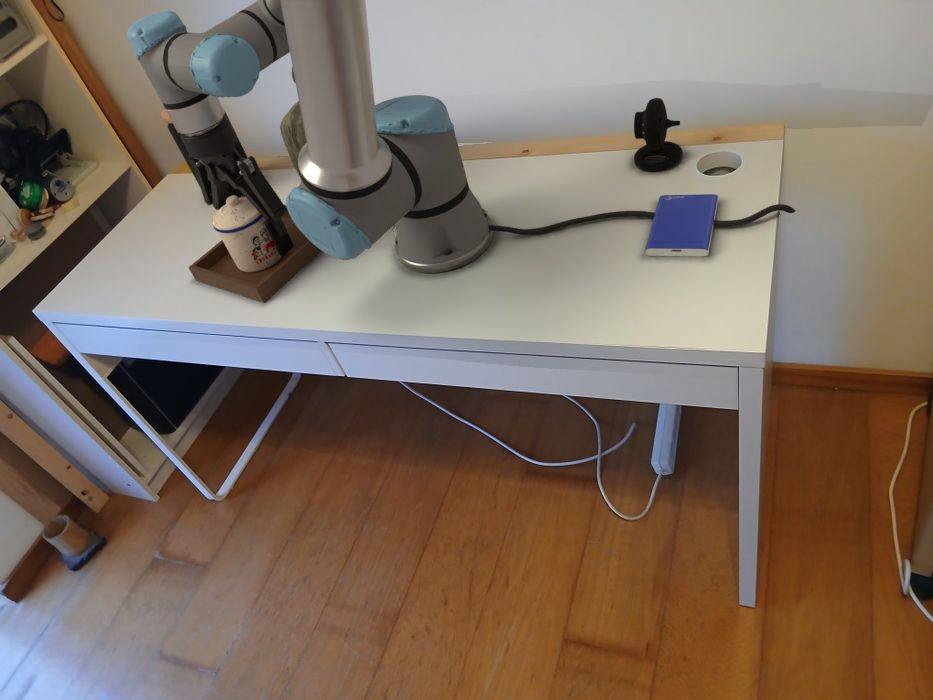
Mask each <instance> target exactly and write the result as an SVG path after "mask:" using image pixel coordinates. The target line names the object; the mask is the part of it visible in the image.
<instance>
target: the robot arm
mask: <svg viewBox="0 0 933 700" xmlns="http://www.w3.org/2000/svg"><path fill="white" fill-rule="evenodd" d="M126 35H127V39H128V42H129V43H130V46H131V47H132V50H133V51H134V53H135V59H136V60H137V61H138V62H139V64H140V65H141V68H142V69H143V71H144V73H145V75H146V76H147V78H148V80H149V82H150V83H151V86H152V87H153V89H154V91H155V92H156V94H157V96H158V97H159V98H158V99H159V100H160V102H161V103H162V105H163V107H164V108H165V110H166V112H167V114H168V115H169V117H170V119H171V121H172V123H173V125H174V126H175V128H176V130H177V132H179V133H181V139H182V141H183V143H184V145H185V146H186V148H187V150H188V152H189V154H190V155H188V159H189V161H190V162H191V164H192V166H193V168H194V170H195V173H196V176H197V179H198V182H199V184H198V186H199V185H200V186H199V188H200V191H201V194H202V197H203V200H204V202H205V204H206V205H208V206H211V205H212V206H213V208H214V209H215V210H216V211H218V210H219V209H220V208H221V207H223V206H224V205H226V204H227V203H226V199H227V198H228V197H230V196H229V191H228V182H229V183H230V184H231V185H232V186H233V188H235V189H239V190H240V191H241V192H242V193H243V195H242V196H243V197H246V198H247V199H248V200H249V201H250V202H251V204H252V205H253V206H254V207H255V208H256V209H257V210H258V212H259V213H260V214H261V215H262V216H263V217H264V218H265V219H266V220H265V221H264V222H263V224H264V225H265V227H266V229H267V230H268V232H269V234H270V236H271V238H272V240H273V242H274V244H275V246H276V248H277V250H278V252H279V254H280V255H281V256H284V255H285V254H286V253H287V252H288V251H289V250H291V249H292V248H293V247H294V245H293V243H292V240H291V238H290V236H289V234H288V232H287V229H286V227H285V225H284V223H283V221H282V219H281V216H283V215H284V214H285V213H286V212H287V209H288V212H289V214H290V216H291V218H292V220H293V221H294V223H295V224H296V226H297V227H298V228H299V230H300V231H301V232H302V233H303V234H304V235H305V236H306V237H307V238H308V239H309V240H310V241H311V242H312V243H313V244H314V245H315V246H316V247H318V248H319V249H320V250H322V251H321V252H323V253H324V254H326V255H328V256H330V257H331V258H335V259H337V260H341V261H350V260H355V259H356V258H358V257H359V256H360V255H361V254H363V253H364V252H365V251H366V250H369V249H371V248H372V247H373V245H374V244H375V243H376V242H377V241H379V240H380V239H381V238H382V237H383V236H384V235H386V233H387V232H389V231H390V230H391V229H392V231H393V234H394V248H395V251H396V254H397V258H398V260H399V261H400V263H401V265H403V267H405V268H407V269H408V270H411V271H413V272H416V273H423V274H436V273H444V272H448V271H452V270H455V269H458V268H461V267H463V266H466V265H467V264H470V263H471V262H473V261H475V260H476V259H477V258H478V257H480V256H482V254H483V253H484V252H485V251H486V250H487V249H488V248H489V246H490V245H491V243H492V241H493V238H494V232H500V233H508V234H514V235H520V236H533V235H540V234H545V233H549V232H550V233H551V232H553V231H556V230H559V229H564V228H567V227H571V226H576V225H580V224H585V223H590V222H596V221H600V220H607V219H614V218H631V217H632V218H633V217H634V218H649V219H654V215H655V211H647V210H617V211H609V212H603V213H597V214H593V215H586V216H581V217H577V218H572V219H571V218H570V219H568V220H564V221H561V222H557V223H554V224H550V225H547V226H542V227H536V228H519V227H512V226H505V225H496V224H492V221H491V218H490V216H489V214H488V212H487V211H486V209H484V208H483V206H482V205H481V203H480V201H479V200H478V198H477V197H476V195H475V194H474V193H473V191H472V190H471V188H470V184H469V182H468V178H467V175H466V170H465V167H464V163H463V159H462V155H461V150H460V147H459V144H458V140H457V136H456V132H455V125H454V123H453V122H452V121H451V120H452V119H451V116H450V113H449V111H448V108H447V106H446V105H445V102H444V101H442V100H441V99H439V98H437V97H434V96H432V95H424V94H413V95H412V94H411V95H403V96H398V97H393V98H390V99H387V100H384V101H381V102H379V103H376V101H375V92H374V81H373V70H372V69H373V68H372V59H371V58H372V57H371V48H370V47H371V46H370V36H369V35H370V34H369V25H368V14H367V2H366V0H256V1H254V2H253V3H251V4H249V5H248V6H247V7H244V8H243V9H241V10H240V11H238V12H237V13H235V14H233V15H231V16H230V17H227V18H226V19H225V20H222V21H221V22H220V23H218V24H216V25H214V26H213V27H211V28H209V29H207V30H206V31H204V32H188V30H187V26H186V25H185V24H184V22H183V21H182V19H181V18H180V16H179V15H178V14H177V13H176V12H175V11H173V10H162V11H158V12H155V13H151V14H148V15H146V16H143V17H142V18H140V19H138V20H136V21H135V22H133V23H132V24H131V25H130V26H129V28H128V30H127V32H126ZM288 54H289V56H290V61H291V67H292V66H293V72H294V77H295V83H296V84H295V83H294V84H295V87H296V92H297V98H298V101H299V104H300V110H301V115H302V120H303V126H304V131H305V137H306V142H307V143H306V144H305V145H304V146H303V147H302V149H301V151H300V153H299V156H298V167H299V172H300V176H299V178H300V184H299V185H298V186H297V187H293V188H292V189H291V190H290V193H288V195H287V196H286V199H285V204H284V202H283V201H282V199H281V198H280V197H279V195H278V194H277V192H276V191H275V190H274V188H273V186H272V185H271V183H270V182H269V180H268V179H267V178H266V177H265V175H264V174H263V172H262V171H261V168H260V167H259V164H258V161H257V160H256V158H255V157H254V156H252V155H250V156H249V157H248V156H247V157H248V158H247V159H243V158H242V157H241V156H240V155H239V153H238V152H237V151H236V149H235V143H236V141H237V137H238V134H237V133H236V130H235V128H234V126H233V124H232V122H231V119H230V118H229V116H228V115H227V116H228V117H227V116H226V115H224V114H225V112H226V110H225V108H224V106H223V104H222V102H221V101H220V99H219V98H222V99H224V98H240V97H244V96H245V95H247V94H249V93H250V92H251V91H252V90H253V89H254V88H255V86H256V83H257V81H258V80H259V77H260V73H261V72H262V71H264V70H265V69H266V68H268V67H270V66H271V65H273V64H274V63H275V62H277V61H278V60H280V59H282V58H283V57H285V56H287V55H288ZM164 108H163V109H164ZM242 175H243V178H242V179H240V180H239V181H236V180H237V179H239V178H240V177H241V176H242ZM198 182H197V183H198ZM210 193H212V194H211V195H210ZM284 205H286V206H287V209H286V207H285V206H284ZM778 211H782V212H785V213H787V214H794V213H796V210H795V208H794V207H792V206H790V205H788V204H783V203H776V204H772V205H770V206H767V207H765V208H763V209H761V210H759V211H757V212H755V213H754V214H751V215H749V216H747V217H743V218H740V219H731V220H728V219H727V220H719V219H715V220H714V221H713V227H717V228H719V227H720V228H732V227H733V228H735V227H740V226H741V227H742V226H745V225H748V224H751V223H754V222H755V221H758V220H760V219H761V218H763V217H765V216H767V215H769V214H771V213H773V212H778ZM268 213H269V214H268ZM393 227H394V228H393Z"/></svg>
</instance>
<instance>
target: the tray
mask: <svg viewBox="0 0 933 700" xmlns="http://www.w3.org/2000/svg"><path fill="white" fill-rule="evenodd" d="M284 206H285V207H286V209H287V206H286V204H284ZM281 219H282V221H283V223H284V225H285V227H286V229H287V232H288V234H289V236H290V238H291V240H292V243H293V245H294V247H293V248H292V249H291V250H289V251H288V252H287V253H286V254H285V255H284V256H282V257H281V259H280V260H279V261H278V262H276V263H275V264H274V265H272V266H270V267H268V268H266V269H264V270H261V271H257V272H244V271H241V270H240V269H239V268H238V267H237V266H236V264H235V262H234V260H233V258H232V257H231V255H230V253H229V251H228V249H227V248H226V246H225V244H224V242H223V240H222V239H221V240H220V241H219V242H218V243H216V244H215V245H214V246H213V247H211V248H210V249H209V250H208V251H206V252H205V253H204V254H203V255H202V256H200V257H199V258H198V259H197V260H196V261H194V262H193V263H191V265H189V266H188V270H189V271H190V273H191V275H192V277H193V278H194V280H195V281H196V282H200V283H203V284H205V285H208V286H212V287H215V288H218V289H220V290H224V291H227V292H230V293H233V294H236V295H240V296H242V297H245V298H248V299H251V300H254V301H257V302H260V303H263V304H264V303H265V302H267V301H268V300H269V299H270V298H271V297H273V295H275V293H277V292H278V291H279V290H280V289H281V288H282V287H283V286H284V285H285V284H287V283H288V282H289V281H290V280H291V279H292V278H293V277H294V276H295V275H296V274H298V273H299V272H300V271H301V270H302V269H303V268H304V267H305V266H306V265H307V264H308V263H310V262H311V261H312V260H313V259H314V258H315V257H317V256H318V255H319V253H321V252H323V251H322V250H320V249H319V248H318V247H316V246H315V245H314V244H313V243H312V242H311V241H310V240H309V239H308V238H307V237H306V236H305V235H304V234H303V233H302V232H301V231H300V230H299V228H298V227H297V226H296V224H295V223H294V221H293V220H292V218H291V216H290V214H289V212H288V209H287V212H286V213H285V214H284V215H283V216H281Z"/></svg>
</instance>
